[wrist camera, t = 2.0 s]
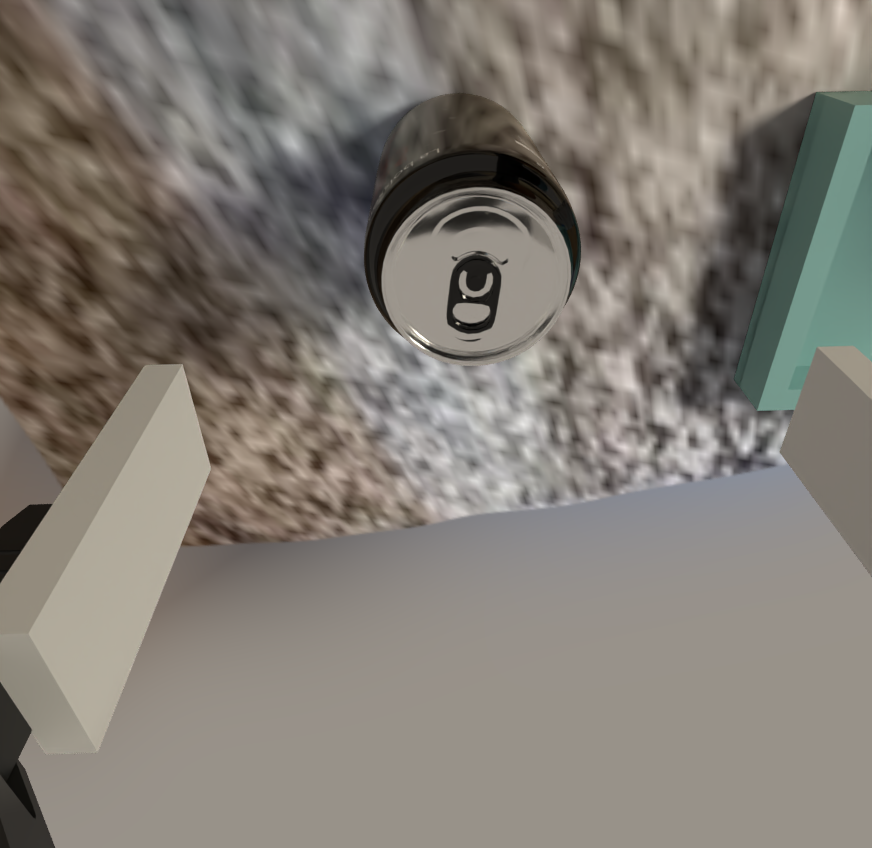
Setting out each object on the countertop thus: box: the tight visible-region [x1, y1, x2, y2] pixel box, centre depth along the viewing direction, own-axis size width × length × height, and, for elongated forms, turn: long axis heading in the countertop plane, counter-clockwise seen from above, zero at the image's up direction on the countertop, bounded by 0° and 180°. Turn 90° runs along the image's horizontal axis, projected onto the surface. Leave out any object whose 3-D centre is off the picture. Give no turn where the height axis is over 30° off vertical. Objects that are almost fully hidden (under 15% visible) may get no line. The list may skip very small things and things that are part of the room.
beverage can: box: [364, 93, 581, 366], centre depth 24 cm, size 7×7×12 cm
